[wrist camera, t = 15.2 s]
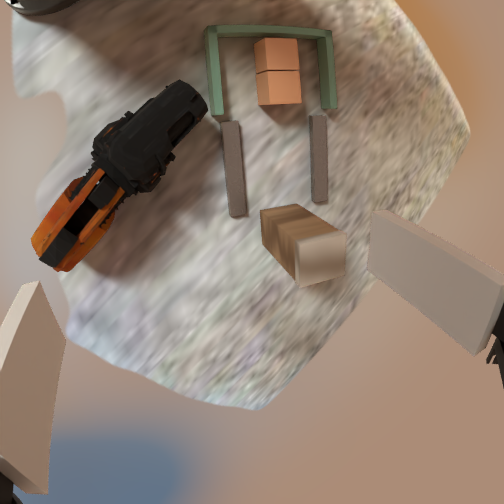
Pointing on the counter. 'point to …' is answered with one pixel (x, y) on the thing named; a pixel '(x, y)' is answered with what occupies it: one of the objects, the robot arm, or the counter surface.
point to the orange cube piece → (276, 55)
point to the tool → (117, 174)
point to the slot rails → (236, 173)
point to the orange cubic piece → (278, 87)
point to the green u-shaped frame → (270, 31)
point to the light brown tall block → (303, 244)
